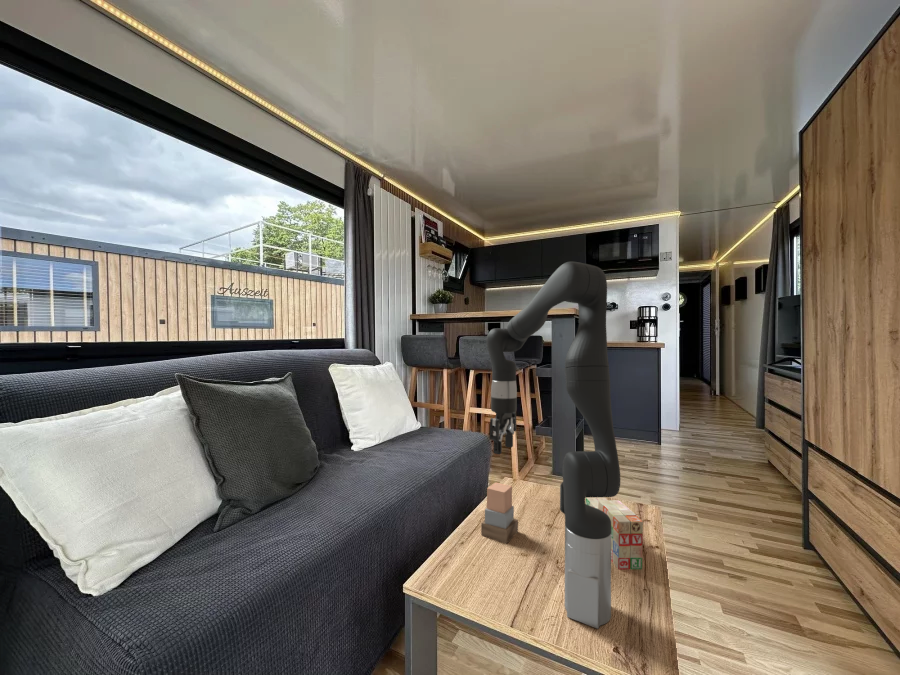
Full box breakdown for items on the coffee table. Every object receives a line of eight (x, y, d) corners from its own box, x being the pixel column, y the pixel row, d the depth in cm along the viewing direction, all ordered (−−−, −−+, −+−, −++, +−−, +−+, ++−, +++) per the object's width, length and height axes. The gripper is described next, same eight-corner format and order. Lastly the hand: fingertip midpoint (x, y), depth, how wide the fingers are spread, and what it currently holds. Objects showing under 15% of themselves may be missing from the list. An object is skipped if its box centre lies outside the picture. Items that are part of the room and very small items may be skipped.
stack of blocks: (585, 527, 115) (585, 487, 115) (605, 527, 115) (605, 487, 115) (618, 570, 93) (618, 520, 93) (643, 570, 94) (643, 520, 94)
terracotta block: (504, 513, 107) (504, 492, 107) (486, 508, 110) (487, 488, 110) (511, 506, 111) (512, 486, 111) (495, 501, 114) (495, 482, 114)
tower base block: (506, 545, 105) (506, 530, 105) (481, 536, 109) (481, 522, 109) (517, 532, 112) (517, 519, 112) (493, 525, 116) (493, 512, 116)
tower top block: (505, 529, 106) (506, 514, 106) (484, 523, 109) (484, 509, 109) (513, 519, 112) (513, 506, 112) (493, 514, 115) (493, 501, 115)
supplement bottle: (562, 505, 130) (562, 470, 130) (582, 509, 127) (583, 474, 127) (558, 513, 124) (558, 477, 124) (579, 518, 121) (580, 480, 121)
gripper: (506, 399, 103) (505, 458, 103) (524, 393, 115) (524, 446, 115) (481, 397, 107) (481, 454, 107) (502, 392, 119) (501, 443, 119)
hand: (503, 450), depth 111 cm, fingers open, 8 cm apart
